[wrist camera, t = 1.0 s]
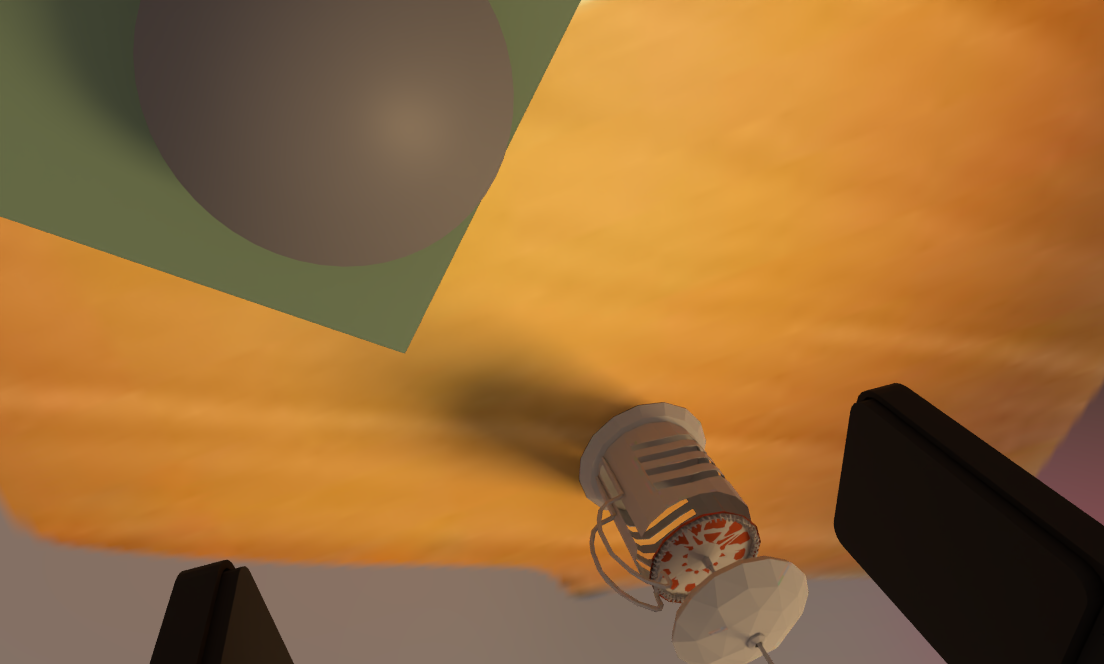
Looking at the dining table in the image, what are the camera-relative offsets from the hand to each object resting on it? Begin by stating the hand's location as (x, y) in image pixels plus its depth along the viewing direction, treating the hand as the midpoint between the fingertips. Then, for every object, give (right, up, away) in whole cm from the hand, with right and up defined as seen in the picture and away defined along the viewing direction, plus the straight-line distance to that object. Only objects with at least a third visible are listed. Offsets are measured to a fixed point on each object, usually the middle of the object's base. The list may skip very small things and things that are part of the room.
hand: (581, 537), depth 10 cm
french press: (+5, -6, +36) cm, 37 cm away
